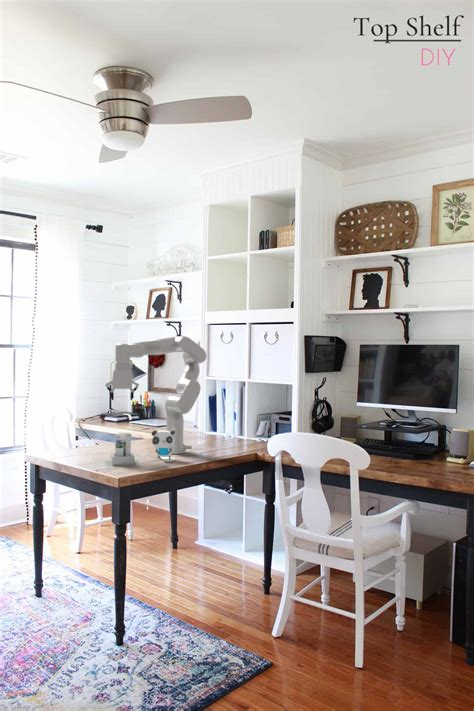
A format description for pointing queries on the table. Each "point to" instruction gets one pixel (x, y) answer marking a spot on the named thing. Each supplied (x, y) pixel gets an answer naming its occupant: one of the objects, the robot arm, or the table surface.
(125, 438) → the syrup box
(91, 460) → the table surface
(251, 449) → the table surface
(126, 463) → the chute collar
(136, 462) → the deck plate
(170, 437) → the panda figurine
